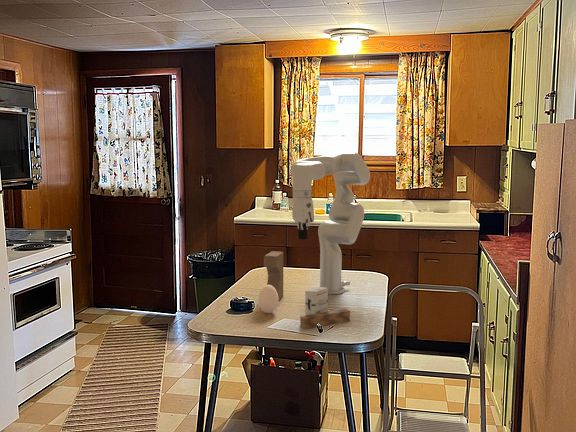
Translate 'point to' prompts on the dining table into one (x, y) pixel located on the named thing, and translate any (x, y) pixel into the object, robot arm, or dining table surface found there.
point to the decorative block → (275, 270)
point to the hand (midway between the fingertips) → (302, 238)
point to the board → (324, 318)
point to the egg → (268, 299)
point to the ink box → (316, 300)
